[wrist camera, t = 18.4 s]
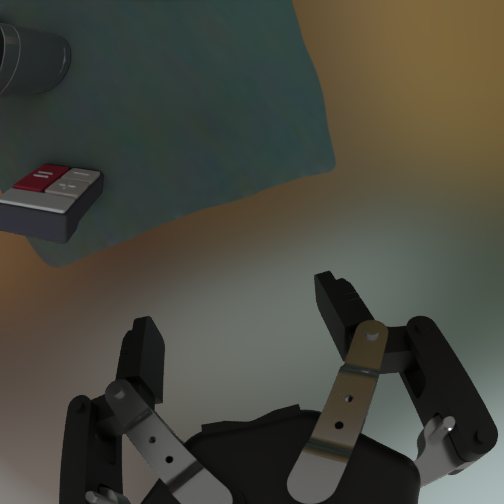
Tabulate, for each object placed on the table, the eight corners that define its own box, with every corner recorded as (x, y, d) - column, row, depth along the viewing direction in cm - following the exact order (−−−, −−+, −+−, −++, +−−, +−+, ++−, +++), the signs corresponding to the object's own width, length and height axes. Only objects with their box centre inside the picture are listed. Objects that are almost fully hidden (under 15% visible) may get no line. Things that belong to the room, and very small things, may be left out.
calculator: (104, 169, 39) (65, 209, 26) (101, 196, 41) (66, 245, 28) (44, 161, 36) (-9, 196, 23) (42, 187, 38) (-7, 229, 25)
